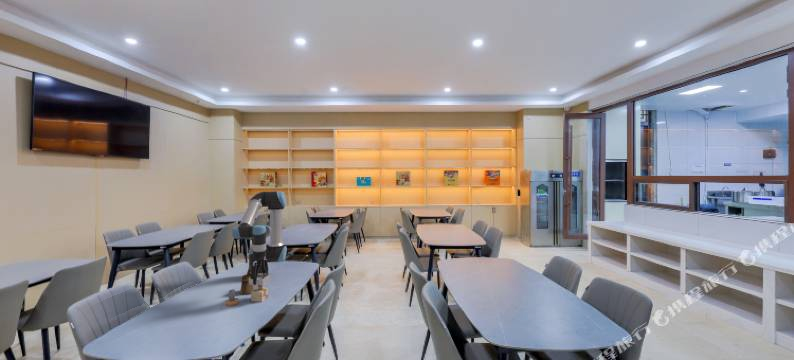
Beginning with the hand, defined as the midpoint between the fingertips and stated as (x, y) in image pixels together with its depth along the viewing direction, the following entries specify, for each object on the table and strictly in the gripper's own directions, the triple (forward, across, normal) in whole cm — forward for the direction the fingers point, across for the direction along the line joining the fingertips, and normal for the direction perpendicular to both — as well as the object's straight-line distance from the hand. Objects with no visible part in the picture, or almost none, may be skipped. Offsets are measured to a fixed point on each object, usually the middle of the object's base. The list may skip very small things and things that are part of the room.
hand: (260, 286), depth 190 cm
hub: (+8, +9, -13) cm, 17 cm away
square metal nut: (-3, 0, 0) cm, 3 cm away
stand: (+8, +1, 0) cm, 8 cm away
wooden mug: (+8, -11, -14) cm, 20 cm away
